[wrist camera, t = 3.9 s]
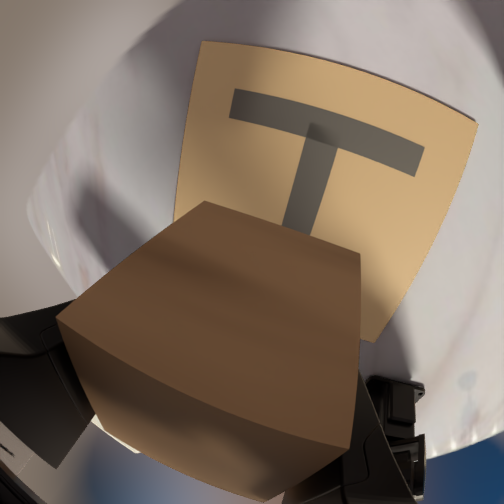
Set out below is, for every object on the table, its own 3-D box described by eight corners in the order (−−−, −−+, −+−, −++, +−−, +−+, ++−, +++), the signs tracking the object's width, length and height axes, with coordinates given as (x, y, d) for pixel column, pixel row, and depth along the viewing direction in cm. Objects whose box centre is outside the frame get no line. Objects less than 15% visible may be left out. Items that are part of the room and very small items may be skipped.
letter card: (374, 340, 22) (373, 343, 22) (171, 266, 25) (169, 268, 24) (476, 123, 12) (478, 124, 12) (203, 41, 15) (201, 40, 15)
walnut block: (306, 359, 11) (263, 502, 6) (190, 314, 12) (104, 430, 7) (360, 253, 8) (349, 449, 3) (204, 200, 9) (55, 316, 4)
